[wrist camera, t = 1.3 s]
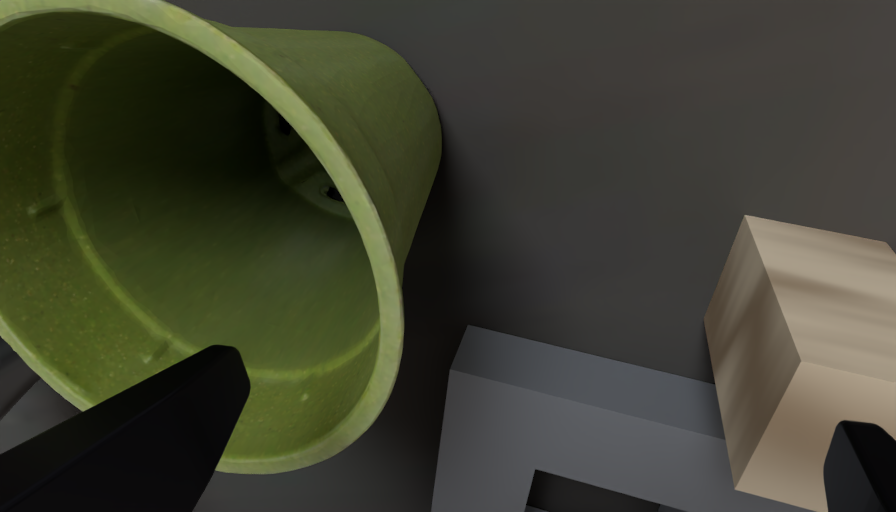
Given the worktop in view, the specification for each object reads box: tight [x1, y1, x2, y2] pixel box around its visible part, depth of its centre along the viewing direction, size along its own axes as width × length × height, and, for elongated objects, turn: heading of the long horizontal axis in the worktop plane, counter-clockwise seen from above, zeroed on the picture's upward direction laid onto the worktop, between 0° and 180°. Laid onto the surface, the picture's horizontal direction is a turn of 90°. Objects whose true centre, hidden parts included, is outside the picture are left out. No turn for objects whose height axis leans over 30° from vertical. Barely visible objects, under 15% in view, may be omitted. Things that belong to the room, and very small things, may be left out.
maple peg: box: [704, 215, 896, 512], centre depth 18 cm, size 4×4×8 cm
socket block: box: [431, 325, 816, 512], centre depth 27 cm, size 14×14×3 cm
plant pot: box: [0, 0, 442, 474], centre depth 18 cm, size 12×12×11 cm
